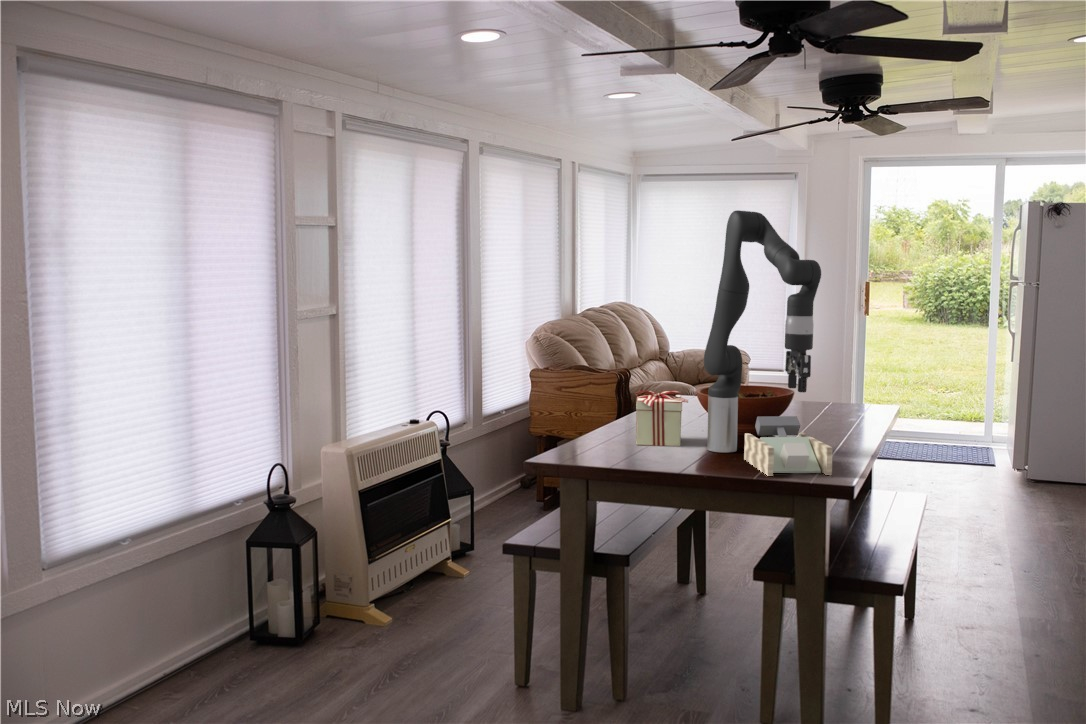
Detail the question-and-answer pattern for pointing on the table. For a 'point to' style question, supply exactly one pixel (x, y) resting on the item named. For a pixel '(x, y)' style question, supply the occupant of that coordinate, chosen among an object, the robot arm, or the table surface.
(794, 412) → the table surface
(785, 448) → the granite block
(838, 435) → the table surface
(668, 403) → the gift box
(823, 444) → the stand
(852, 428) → the table surface
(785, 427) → the trapdoor
